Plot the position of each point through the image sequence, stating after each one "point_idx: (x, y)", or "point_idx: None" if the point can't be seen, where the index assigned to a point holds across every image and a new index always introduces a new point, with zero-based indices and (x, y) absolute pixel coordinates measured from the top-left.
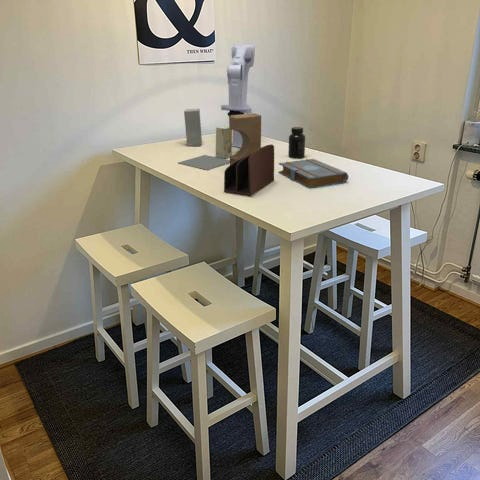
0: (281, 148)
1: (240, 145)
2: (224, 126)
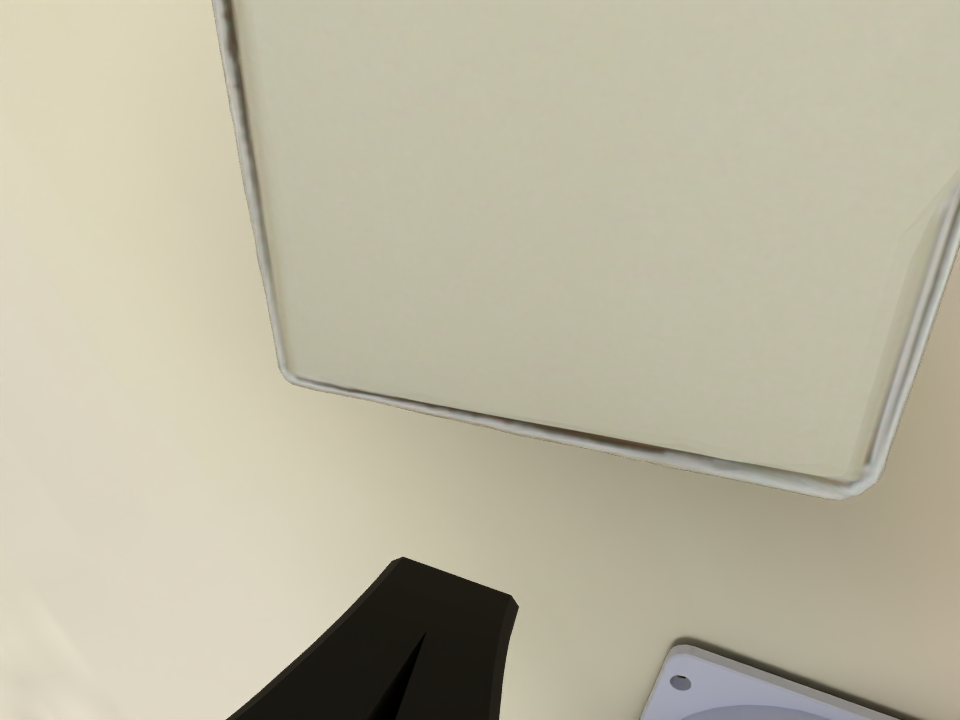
0: (179, 705)
1: (726, 712)
2: (748, 362)
